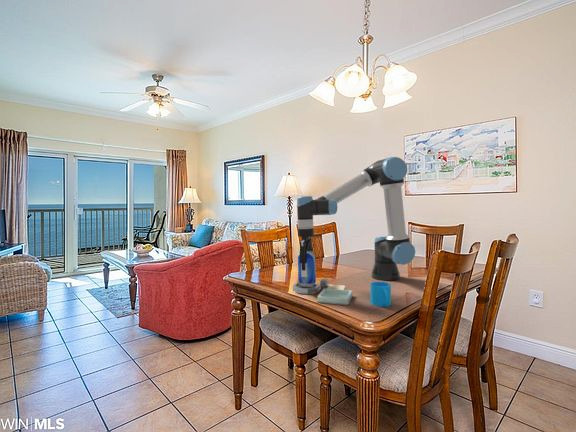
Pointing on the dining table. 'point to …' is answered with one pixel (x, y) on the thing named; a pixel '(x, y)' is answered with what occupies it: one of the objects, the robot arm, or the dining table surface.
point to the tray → (335, 296)
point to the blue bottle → (311, 272)
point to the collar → (299, 289)
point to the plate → (336, 287)
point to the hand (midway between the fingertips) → (306, 274)
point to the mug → (380, 294)
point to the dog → (323, 284)
